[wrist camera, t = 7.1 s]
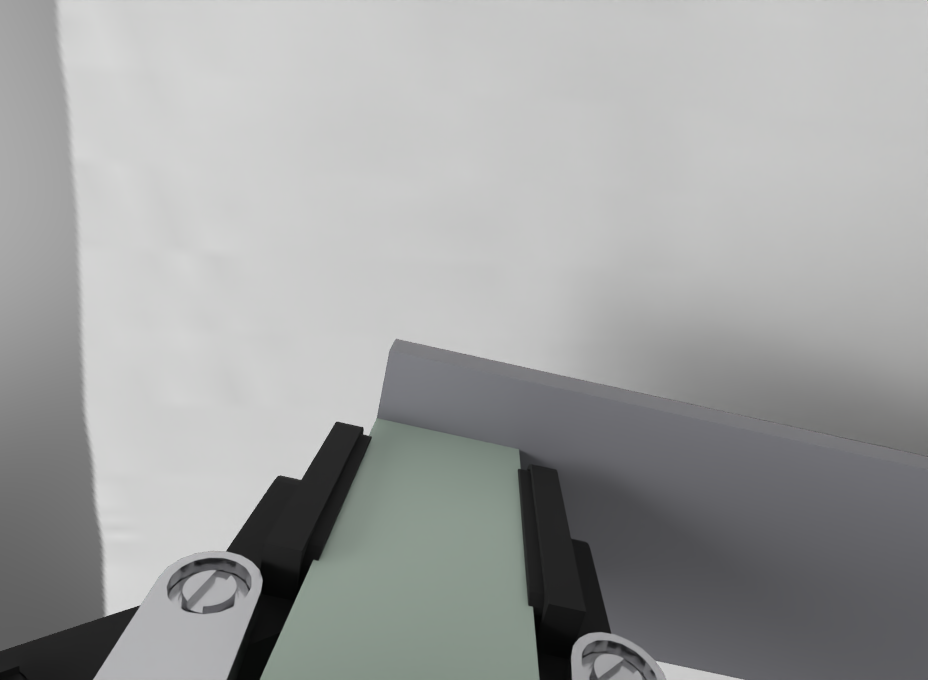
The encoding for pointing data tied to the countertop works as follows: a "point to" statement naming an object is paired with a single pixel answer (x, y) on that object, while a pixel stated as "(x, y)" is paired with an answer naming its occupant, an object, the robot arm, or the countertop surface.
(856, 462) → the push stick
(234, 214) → the countertop surface
